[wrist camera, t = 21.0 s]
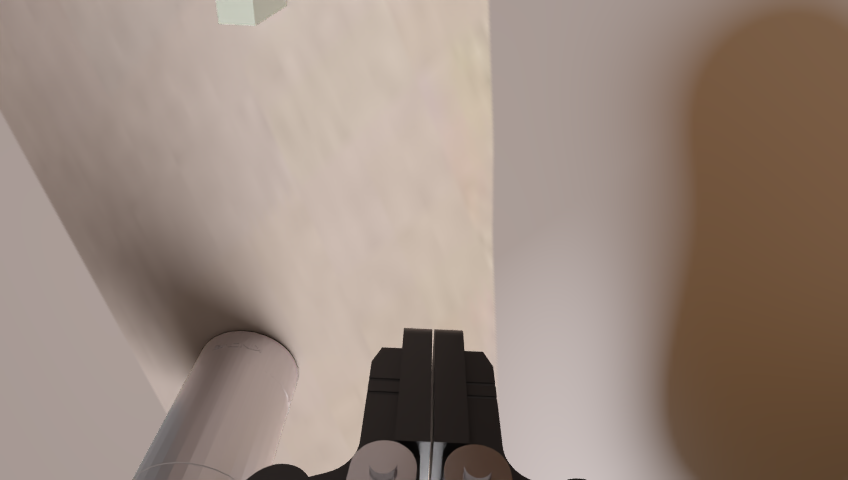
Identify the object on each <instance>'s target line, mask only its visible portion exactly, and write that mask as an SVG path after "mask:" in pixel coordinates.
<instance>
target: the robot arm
mask: <svg viewBox="0 0 848 480" xmlns="http://www.w3.org/2000/svg"><path fill="white" fill-rule="evenodd" d="M297 380H298V368H297V365H296V362H295V360H294V358H293V357H292V355H291V354H290V353H289V352H288V351H287V350H286V349H285V347H284V346H282V345H281V344H279V343H278V342H277V341H275V340H273V339H271V338H269V337H267V336H265V335H261V334H258V333H254V332H247V331H233V332H228V333H223V334H221V335H219V336H216V337H214V338H213V339H212V340H210V341H209V342H208V343H207V344H206V345H205V347H204V348H203V349H202V351H201V353H200V355H199V357H198V359H197V360H196V362H195V364H194V366H193V368H192V370H191V372H190V373H189V375H188V377H187V379H186V380H185V382H184V384H183V386H182V388H181V390H180V392H179V393H178V395H177V397H176V399H175V401H174V403H173V405H172V407H171V408H170V410H169V412H168V414H167V416H166V418H165V420H164V422H163V423H162V425H161V427H160V429H159V431H158V433H157V435H156V436H155V438H154V440H153V442H152V444H151V446H150V448H149V449H148V451H147V453H146V455H145V457H144V459H143V461H142V463H141V464H140V466H139V468H138V470H137V472H136V474H135V476H134V477H133V479H132V480H428V473H429V480H530V479H527V478H526V477H524V476H522V475H521V474H519V473H518V472H517V471H515V469H514V468H513V467H512V466H511V465H510V464H509V462H508V461H507V459H506V457H505V454H504V451H503V446H502V437H501V429H500V421H499V412H498V404H497V399H496V397H497V396H496V387H495V379H494V371H493V366H492V364H491V363H490V362H489V360H488V359H487V357H486V356H485V354H484V353H483V352H472V351H464V339H463V331H459V330H438V329H435V330H434V344H433V359H432V329H413V328H404V335H403V347H402V348H382V349H381V350H380V351H379V353H378V354H377V355H376V356H375V358H374V359H373V360H372V364H371V370H370V377H369V384H368V392H367V398H366V404H365V411H364V418H363V425H362V431H361V438H360V444H359V447H358V449H357V451H356V453H355V455H354V456H353V457H352V458H351V459H350V460H349V461H348V462H347V463H346V464H344V465H343V466H341V467H340V468H338V469H335V470H333V471H330V472H327V473H323V474H319V475H315V476H311V477H308V476H307V474H306V473H305V472H304V471H303V470H301V469H300V468H298V467H296V466H293V465H289V464H275V465H272V464H273V461H274V457H275V454H276V451H277V447H278V444H279V441H280V437H281V434H282V431H283V427H284V424H285V421H286V417H287V415H288V411H289V408H290V405H291V401H292V398H293V395H294V391H295V388H296V385H297ZM429 458H430V466H429ZM568 480H585V479H568Z"/></svg>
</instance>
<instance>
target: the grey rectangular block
mask: <svg viewBox="0 0 848 480" xmlns="http://www.w3.org/2000/svg"><path fill="white" fill-rule="evenodd" d="M286 6H287V2H286V0H216V8H217V16H218V23H219V24H226V25H247V26H256V25H257V24H259V23H261V22H262V21H264V20H265V19H267V18H269V17H270V16H272V15H273V14H275V13H277V12H278V11H280V10H281V9H283V8H285V7H286Z"/></svg>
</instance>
